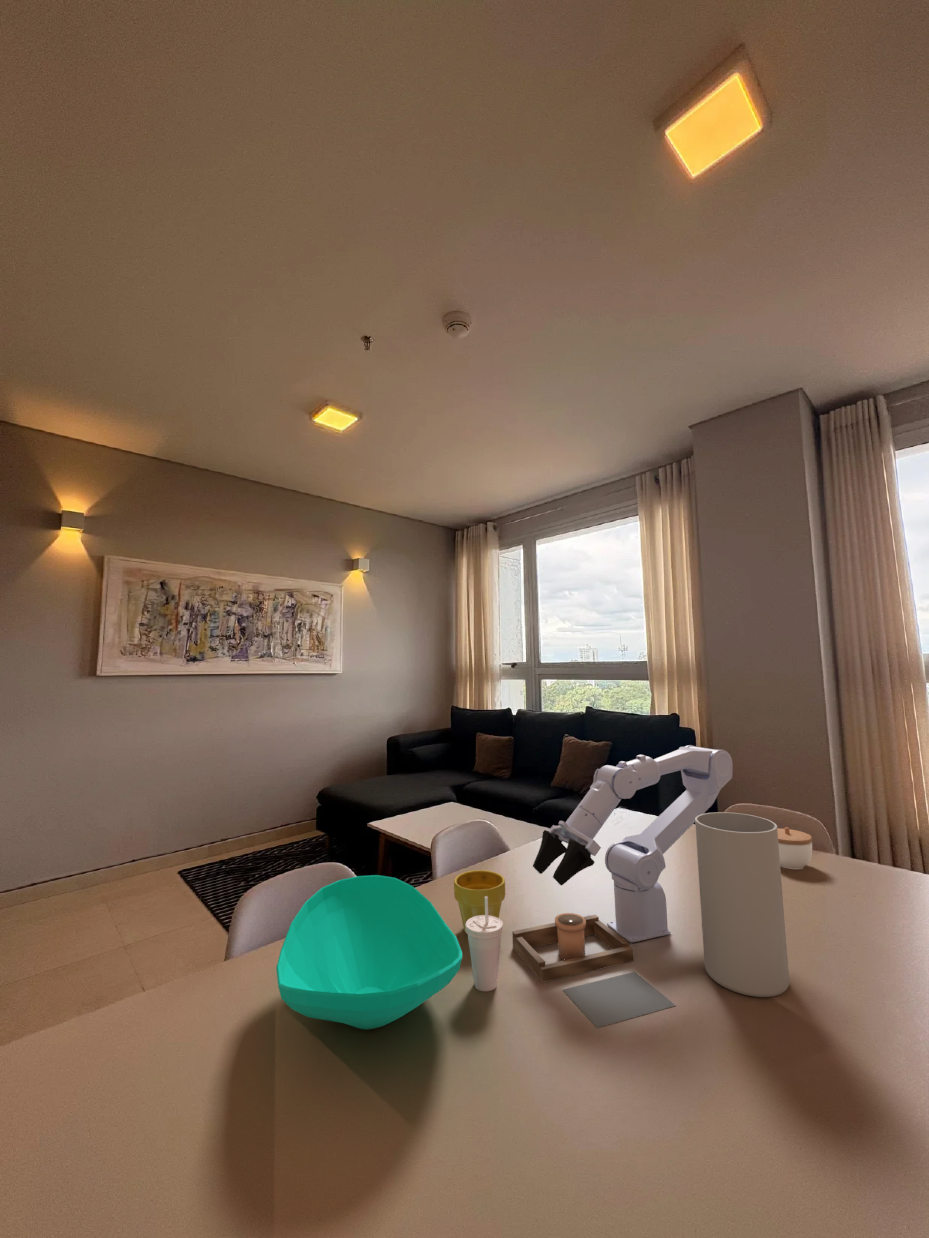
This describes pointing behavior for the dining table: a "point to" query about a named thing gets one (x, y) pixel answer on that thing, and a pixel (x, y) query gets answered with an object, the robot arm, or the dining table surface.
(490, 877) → the plant pot
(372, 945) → the table top decor
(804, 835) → the lidded jar
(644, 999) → the potting mat
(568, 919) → the terracotta pot
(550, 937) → the cold frame
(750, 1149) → the dining table surface
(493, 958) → the smoothie
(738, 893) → the cylinder vase
